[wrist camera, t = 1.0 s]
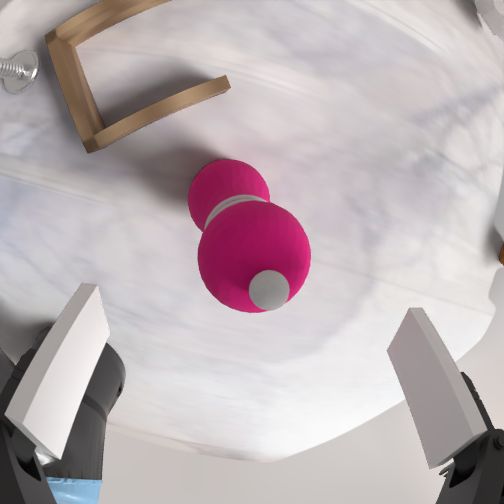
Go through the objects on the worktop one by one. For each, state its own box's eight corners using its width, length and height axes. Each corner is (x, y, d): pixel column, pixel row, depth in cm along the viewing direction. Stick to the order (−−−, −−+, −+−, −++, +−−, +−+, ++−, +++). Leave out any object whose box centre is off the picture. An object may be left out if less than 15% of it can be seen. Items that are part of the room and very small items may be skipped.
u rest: (102, 148, 25) (87, 154, 21) (62, 44, 19) (44, 35, 15) (225, 92, 25) (230, 87, 21) (181, -13, 19) (180, -31, 15)
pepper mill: (179, 210, 30) (167, 348, 12) (202, 144, 27) (221, 190, 10) (243, 230, 32) (306, 368, 14) (268, 168, 30) (379, 248, 12)
